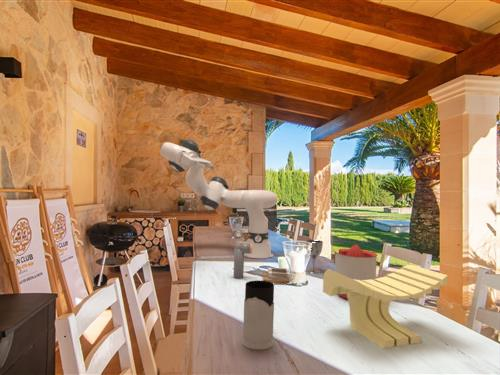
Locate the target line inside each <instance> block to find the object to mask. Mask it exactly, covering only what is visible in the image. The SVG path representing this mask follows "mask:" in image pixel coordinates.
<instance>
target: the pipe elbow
mask: <svg viewBox="0 0 500 375" xmlns="http://www.w3.org/2000/svg"><path fill="white" fill-rule="evenodd" d="M233 250H234V252H233V255H234V256H233V278H234V279H239V280H240V279H244V268H245V256H244V254H252V244H245V242H243V243H241V242H239V243H236V244H235V246H234V249H233Z"/></svg>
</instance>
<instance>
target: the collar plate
mask: <svg viewBox="0 0 500 375" xmlns="http://www.w3.org/2000/svg"><path fill="white" fill-rule="evenodd" d="M289 269H290V268H284V267H283V268H281V267H267V271H263V272H262V281H268V282H271V283H278V284H277V285H281V284H287V283H289V282H290V281H289V277H290V273H289Z"/></svg>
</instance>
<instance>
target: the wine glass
mask: <svg viewBox="0 0 500 375" xmlns="http://www.w3.org/2000/svg"><path fill="white" fill-rule="evenodd" d="M306 242H310V243H312V248H311V249H312V250H311V255H309V256H310V258H311V260H312V268H311V269H310V268H309V269H306V270H305V271H306V272H307V273H310V274H321V271H320V270H318V269H315V264H316V260H317V258H318V257H319V256H320V255H321V253H322V252H323V244H324V241H323V240H318V239H307V240H306Z"/></svg>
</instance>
